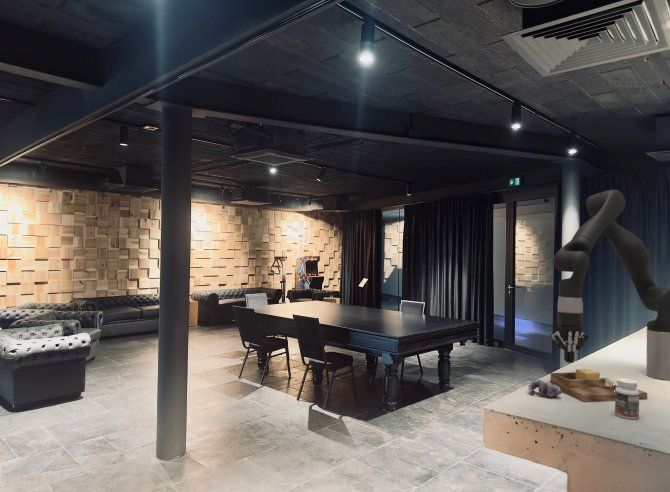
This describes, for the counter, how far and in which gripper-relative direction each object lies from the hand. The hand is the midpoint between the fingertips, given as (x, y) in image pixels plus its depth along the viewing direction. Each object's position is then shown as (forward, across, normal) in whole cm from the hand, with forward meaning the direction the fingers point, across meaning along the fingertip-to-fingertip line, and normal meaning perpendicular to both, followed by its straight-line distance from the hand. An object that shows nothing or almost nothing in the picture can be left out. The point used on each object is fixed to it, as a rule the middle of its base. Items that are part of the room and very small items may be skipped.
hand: (569, 362), depth 152 cm
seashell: (+10, +12, +5) cm, 16 cm away
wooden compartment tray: (+9, -7, +4) cm, 12 cm away
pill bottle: (+9, 0, +24) cm, 26 cm away
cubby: (+7, -3, 0) cm, 8 cm away
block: (+7, -7, 0) cm, 10 cm away
